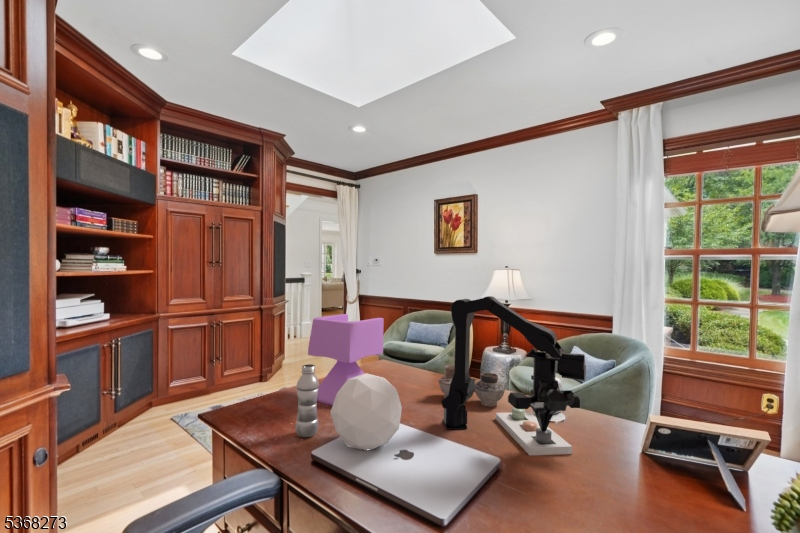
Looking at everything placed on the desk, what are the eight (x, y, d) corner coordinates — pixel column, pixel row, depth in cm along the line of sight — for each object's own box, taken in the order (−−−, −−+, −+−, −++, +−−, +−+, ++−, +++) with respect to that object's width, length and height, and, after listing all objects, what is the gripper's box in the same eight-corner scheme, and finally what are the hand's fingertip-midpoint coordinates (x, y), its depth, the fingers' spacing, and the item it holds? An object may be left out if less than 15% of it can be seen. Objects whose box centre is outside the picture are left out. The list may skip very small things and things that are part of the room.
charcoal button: (540, 445, 99) (540, 434, 99) (533, 438, 103) (533, 428, 103) (554, 445, 99) (554, 434, 99) (546, 438, 103) (546, 427, 103)
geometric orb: (377, 478, 96) (387, 438, 84) (315, 440, 102) (316, 397, 90) (407, 421, 111) (419, 380, 99) (352, 390, 116) (357, 348, 105)
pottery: (442, 391, 147) (443, 362, 147) (506, 401, 137) (506, 369, 137) (434, 400, 137) (434, 368, 137) (502, 411, 127) (503, 377, 127)
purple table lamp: (382, 395, 140) (383, 318, 141) (348, 411, 123) (350, 323, 124) (342, 386, 151) (344, 313, 151) (306, 399, 134) (308, 318, 135)
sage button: (514, 421, 115) (515, 412, 115) (509, 416, 118) (509, 407, 119) (527, 421, 115) (527, 411, 115) (521, 416, 119) (521, 407, 119)
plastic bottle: (322, 432, 107) (324, 364, 108) (309, 442, 101) (311, 369, 101) (303, 428, 109) (305, 362, 110) (290, 438, 103) (292, 367, 103)
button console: (529, 455, 96) (529, 447, 96) (495, 418, 120) (495, 412, 120) (572, 453, 98) (572, 446, 98) (530, 418, 121) (530, 412, 121)
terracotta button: (526, 437, 107) (526, 426, 107) (520, 431, 111) (520, 421, 111) (539, 436, 107) (539, 426, 107) (532, 430, 111) (533, 421, 111)
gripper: (525, 383, 92) (524, 445, 92) (594, 383, 94) (593, 443, 94) (507, 371, 103) (506, 427, 103) (569, 371, 105) (568, 425, 105)
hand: (543, 430), depth 101 cm, fingers closed
